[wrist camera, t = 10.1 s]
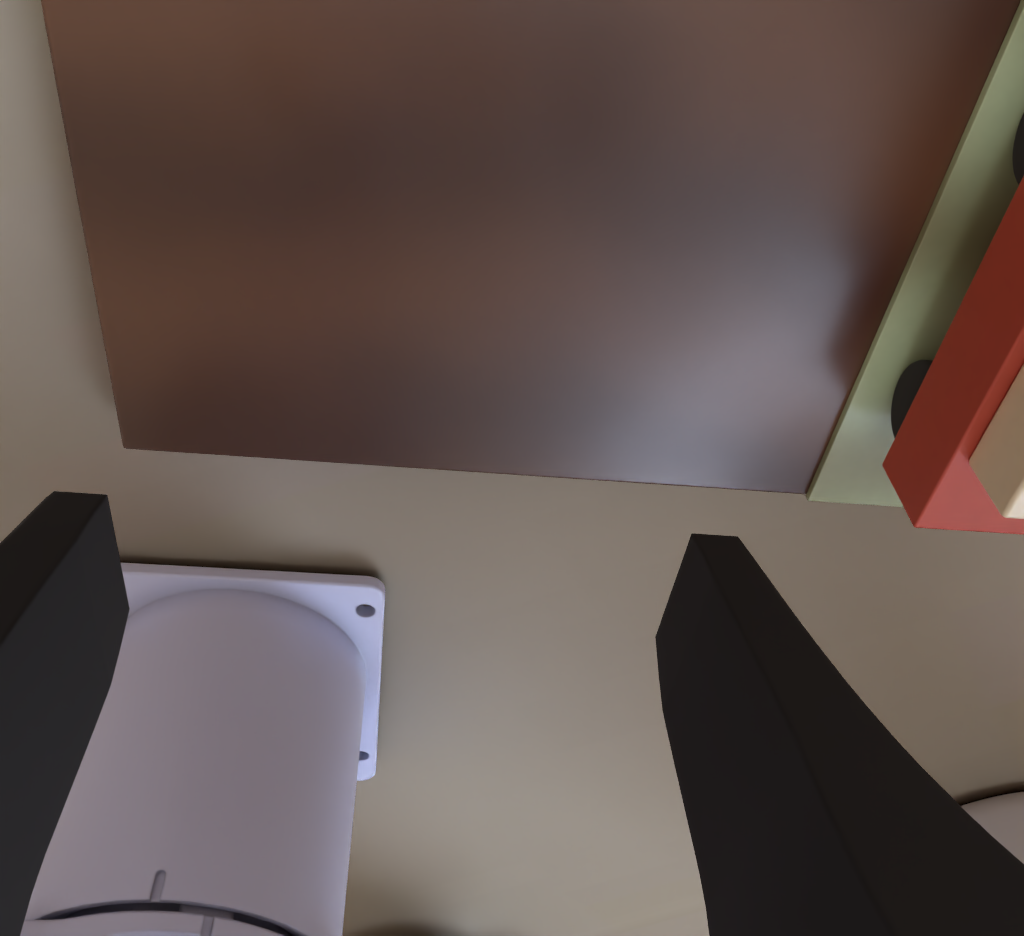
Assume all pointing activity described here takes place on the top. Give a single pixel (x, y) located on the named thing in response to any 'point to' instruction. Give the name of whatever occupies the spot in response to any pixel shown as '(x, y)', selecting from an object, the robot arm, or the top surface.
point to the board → (536, 226)
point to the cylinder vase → (1002, 820)
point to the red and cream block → (970, 399)
